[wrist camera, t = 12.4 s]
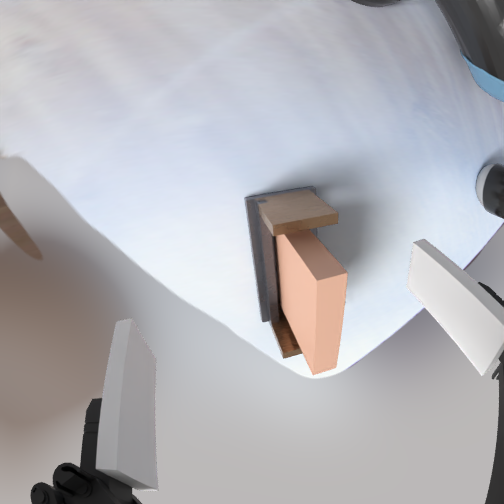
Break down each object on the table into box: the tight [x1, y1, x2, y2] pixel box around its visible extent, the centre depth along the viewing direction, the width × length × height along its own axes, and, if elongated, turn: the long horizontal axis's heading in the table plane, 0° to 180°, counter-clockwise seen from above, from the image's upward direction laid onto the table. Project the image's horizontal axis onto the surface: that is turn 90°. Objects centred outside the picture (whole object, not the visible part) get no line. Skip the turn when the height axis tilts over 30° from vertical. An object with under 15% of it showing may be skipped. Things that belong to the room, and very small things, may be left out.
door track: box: [245, 186, 338, 359], centre depth 37 cm, size 9×20×9 cm, turn 7°
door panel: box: [274, 229, 348, 375], centre depth 34 cm, size 3×14×14 cm, turn 7°
